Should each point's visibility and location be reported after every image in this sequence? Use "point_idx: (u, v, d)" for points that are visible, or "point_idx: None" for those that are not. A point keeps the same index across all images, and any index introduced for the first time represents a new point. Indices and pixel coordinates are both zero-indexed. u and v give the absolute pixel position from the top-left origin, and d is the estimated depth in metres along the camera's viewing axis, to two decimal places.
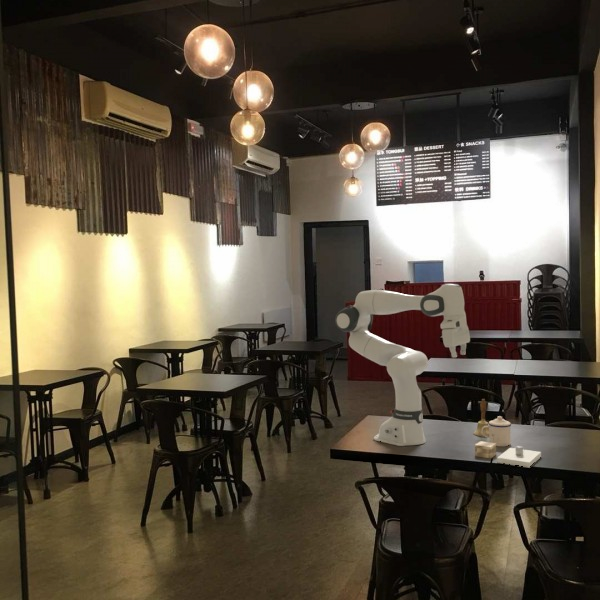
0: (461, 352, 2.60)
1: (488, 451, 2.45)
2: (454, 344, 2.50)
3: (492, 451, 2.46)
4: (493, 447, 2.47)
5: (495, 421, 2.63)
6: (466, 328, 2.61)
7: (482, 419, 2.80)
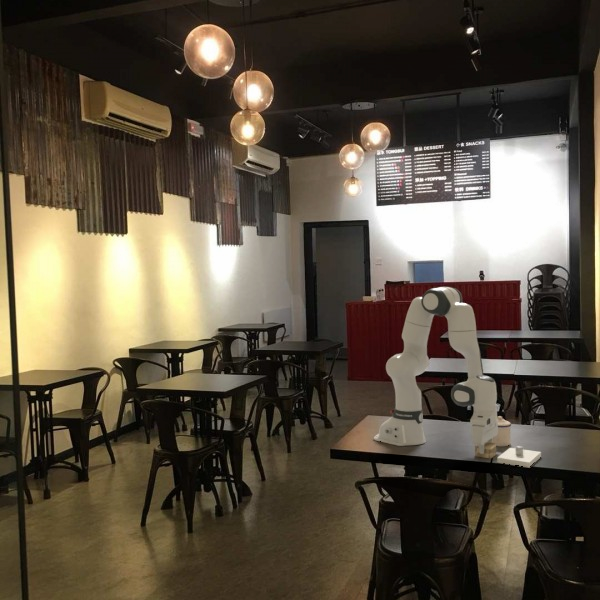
0: None
1: (488, 451, 2.45)
2: (483, 442, 2.41)
3: (492, 451, 2.46)
4: (493, 447, 2.47)
5: None
6: (495, 421, 2.53)
7: None
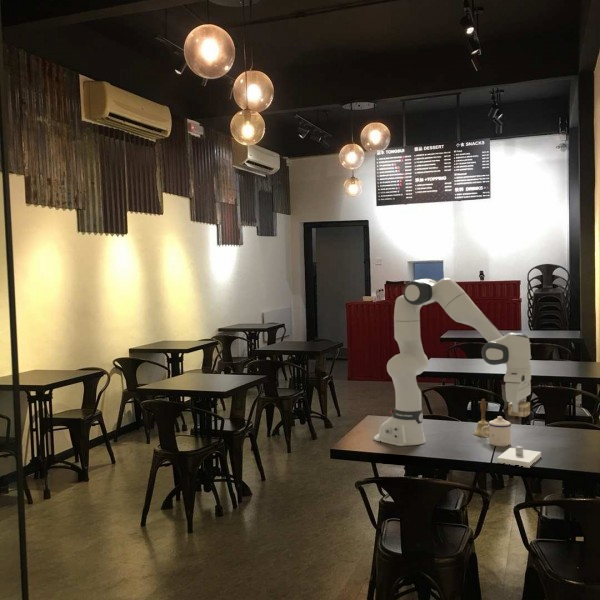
0: None
1: (522, 409, 2.37)
2: (517, 400, 2.34)
3: (526, 409, 2.39)
4: (527, 405, 2.39)
5: (495, 421, 2.63)
6: (528, 380, 2.45)
7: (482, 419, 2.80)
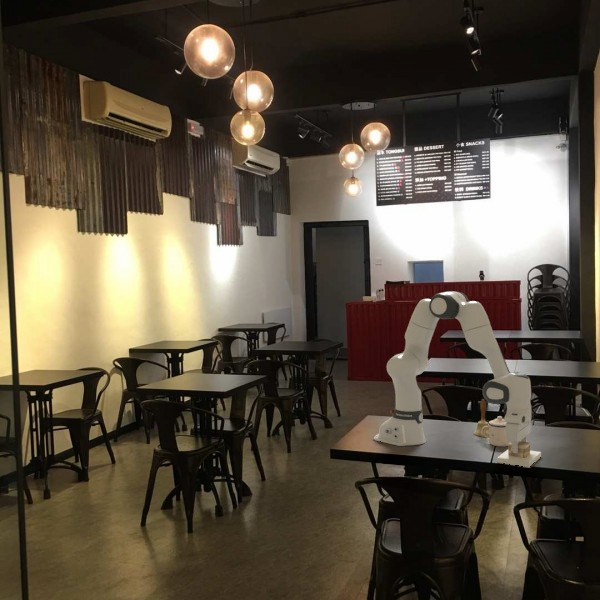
0: None
1: (522, 450, 2.38)
2: (517, 441, 2.35)
3: (526, 450, 2.39)
4: (527, 446, 2.40)
5: (495, 421, 2.63)
6: None
7: (482, 419, 2.80)
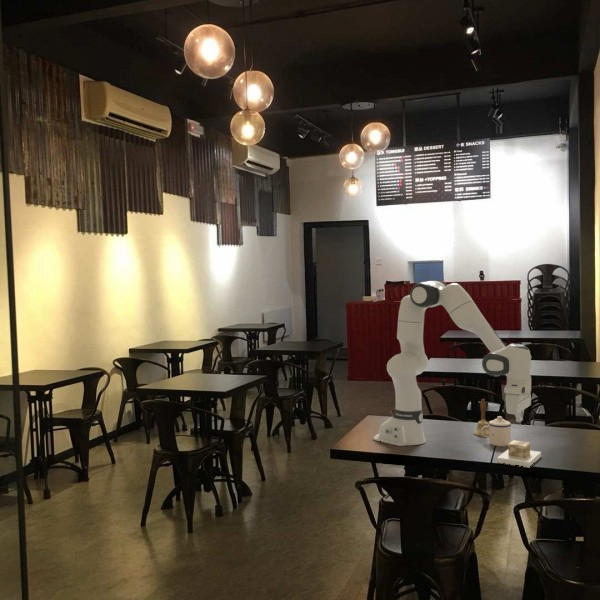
0: None
1: (522, 450, 2.38)
2: (517, 411, 2.34)
3: (526, 450, 2.39)
4: (527, 446, 2.40)
5: (495, 421, 2.63)
6: (528, 391, 2.46)
7: (482, 419, 2.80)
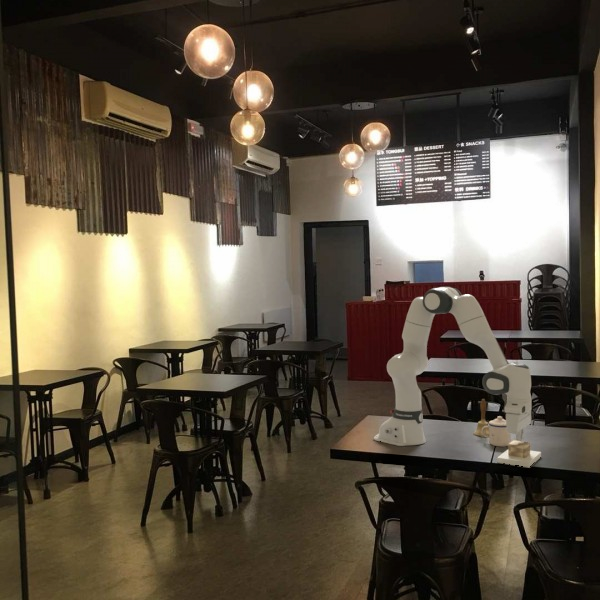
0: None
1: (522, 450, 2.38)
2: (518, 431, 2.34)
3: (526, 450, 2.39)
4: (527, 446, 2.40)
5: (495, 421, 2.63)
6: None
7: (482, 419, 2.80)
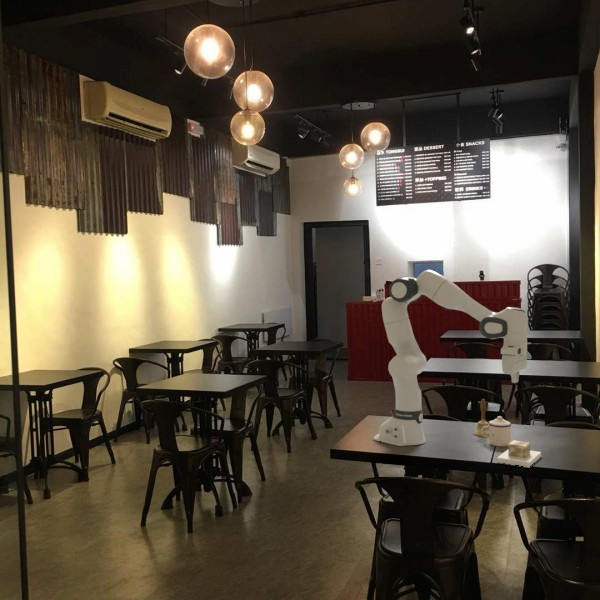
0: None
1: (522, 450, 2.38)
2: (513, 371, 2.42)
3: (526, 450, 2.39)
4: (527, 446, 2.40)
5: (495, 421, 2.63)
6: (524, 354, 2.53)
7: (482, 419, 2.80)
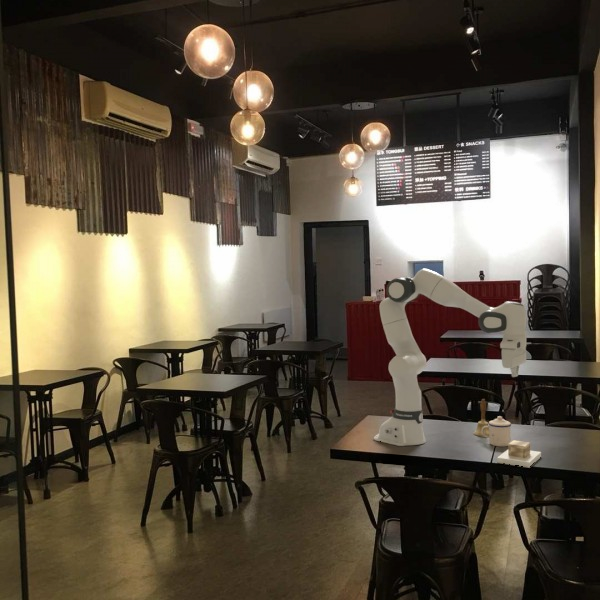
0: None
1: (522, 450, 2.38)
2: (513, 365, 2.42)
3: (526, 450, 2.39)
4: (527, 446, 2.40)
5: (495, 421, 2.63)
6: (524, 348, 2.54)
7: (482, 419, 2.80)
